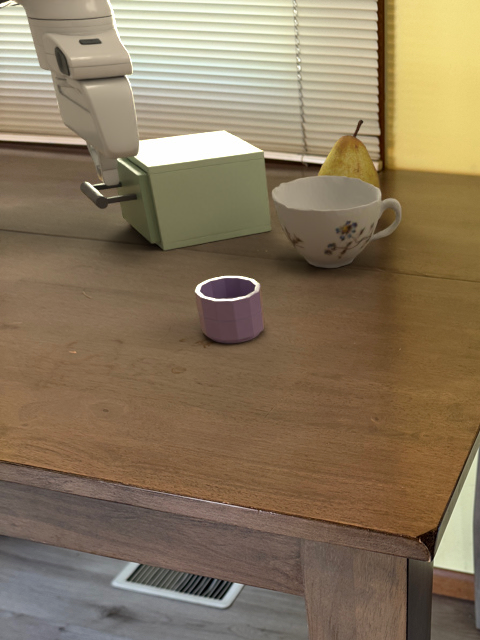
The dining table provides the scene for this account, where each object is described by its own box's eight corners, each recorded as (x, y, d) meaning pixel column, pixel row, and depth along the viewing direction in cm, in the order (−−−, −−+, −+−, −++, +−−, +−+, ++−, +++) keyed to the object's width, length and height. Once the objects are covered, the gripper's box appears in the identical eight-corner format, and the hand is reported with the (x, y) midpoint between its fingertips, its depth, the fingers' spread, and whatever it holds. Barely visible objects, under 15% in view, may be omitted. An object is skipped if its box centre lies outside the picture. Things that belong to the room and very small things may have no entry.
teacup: (280, 282, 86) (273, 208, 81) (276, 244, 96) (269, 176, 90) (409, 275, 88) (410, 204, 83) (393, 239, 98) (393, 172, 92)
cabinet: (164, 250, 93) (147, 167, 87) (132, 222, 101) (115, 143, 95) (271, 230, 99) (263, 151, 93) (233, 205, 107) (224, 130, 101)
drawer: (111, 251, 91) (95, 181, 85) (85, 224, 98) (69, 158, 93) (252, 225, 98) (245, 160, 93) (219, 202, 106) (210, 140, 100)
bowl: (217, 350, 73) (209, 306, 70) (193, 327, 77) (185, 283, 74) (275, 336, 76) (270, 292, 73) (249, 313, 80) (244, 271, 77)
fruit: (317, 232, 99) (310, 131, 91) (316, 210, 106) (310, 114, 98) (382, 231, 100) (382, 130, 92) (377, 210, 107) (377, 114, 99)
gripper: (26, 37, 88) (60, 166, 97) (73, 63, 75) (107, 208, 84) (81, 34, 90) (110, 159, 99) (135, 58, 77) (162, 199, 86)
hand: (109, 182), depth 91 cm, fingers closed
